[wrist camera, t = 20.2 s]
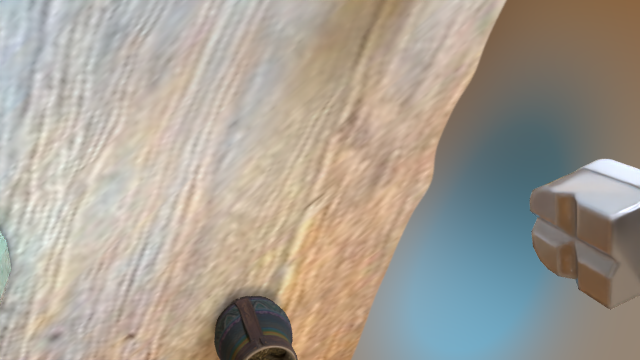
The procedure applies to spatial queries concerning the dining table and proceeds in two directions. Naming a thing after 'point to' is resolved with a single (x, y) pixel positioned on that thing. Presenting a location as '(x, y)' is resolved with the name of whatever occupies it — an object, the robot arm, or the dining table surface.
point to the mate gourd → (254, 331)
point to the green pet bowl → (4, 266)
